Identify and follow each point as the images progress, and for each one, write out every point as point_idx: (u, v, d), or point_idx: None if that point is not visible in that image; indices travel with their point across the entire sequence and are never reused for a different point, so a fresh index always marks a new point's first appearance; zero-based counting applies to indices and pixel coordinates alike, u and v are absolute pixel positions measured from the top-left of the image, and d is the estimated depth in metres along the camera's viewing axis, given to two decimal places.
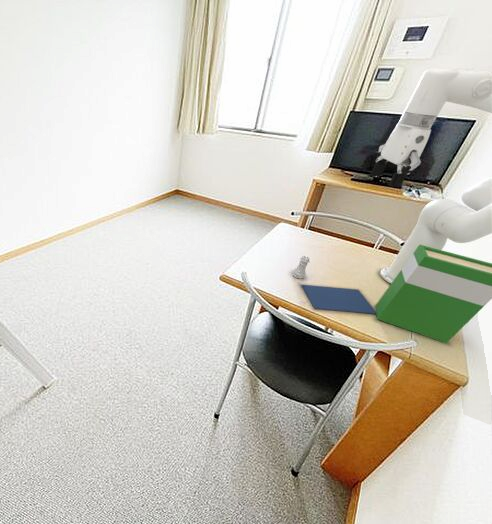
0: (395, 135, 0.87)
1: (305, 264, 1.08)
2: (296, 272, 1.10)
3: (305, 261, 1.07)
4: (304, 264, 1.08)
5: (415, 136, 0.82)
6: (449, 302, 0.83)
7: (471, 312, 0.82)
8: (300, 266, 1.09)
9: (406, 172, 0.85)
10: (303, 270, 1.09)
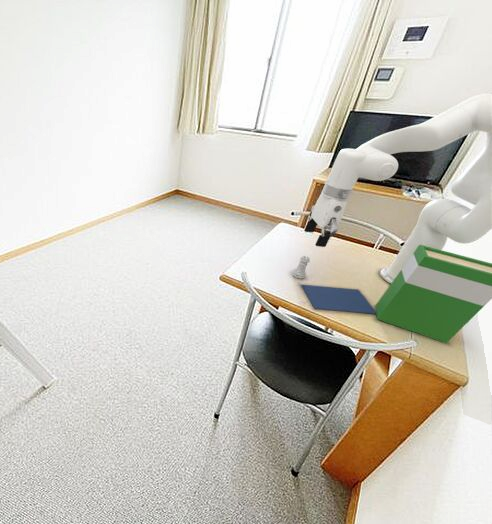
0: (320, 201, 0.97)
1: (305, 264, 1.08)
2: (296, 272, 1.10)
3: (305, 261, 1.07)
4: (304, 264, 1.08)
5: (333, 206, 0.92)
6: (449, 302, 0.83)
7: (471, 312, 0.82)
8: (300, 266, 1.09)
9: (328, 236, 0.95)
10: (303, 270, 1.09)
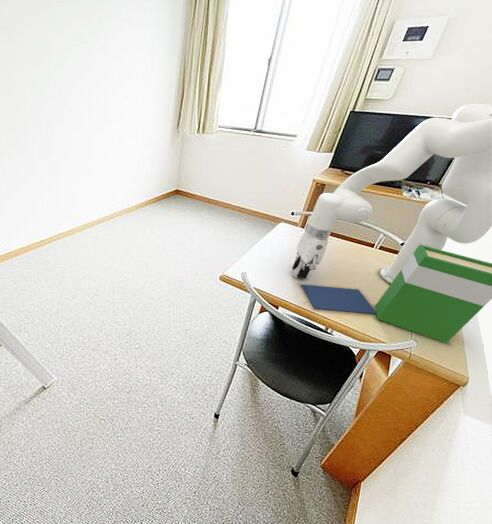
0: (304, 238, 1.05)
1: None
2: (296, 272, 1.10)
3: None
4: None
5: (315, 245, 1.00)
6: (449, 302, 0.83)
7: (471, 312, 0.82)
8: (300, 266, 1.09)
9: (307, 269, 1.06)
10: None
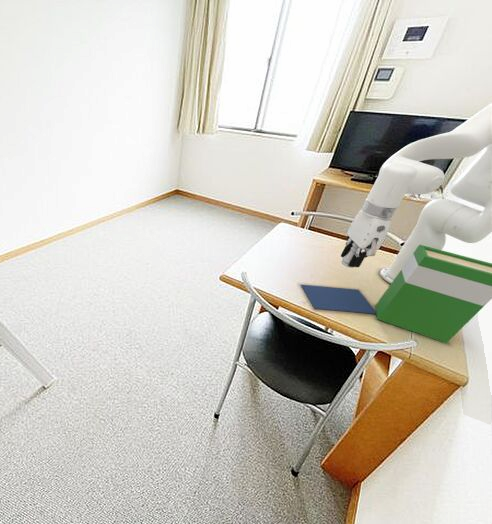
0: (359, 219, 0.89)
1: None
2: (347, 260, 0.94)
3: None
4: None
5: (376, 226, 0.83)
6: (449, 302, 0.83)
7: (471, 312, 0.82)
8: (352, 252, 0.93)
9: (363, 256, 0.90)
10: None
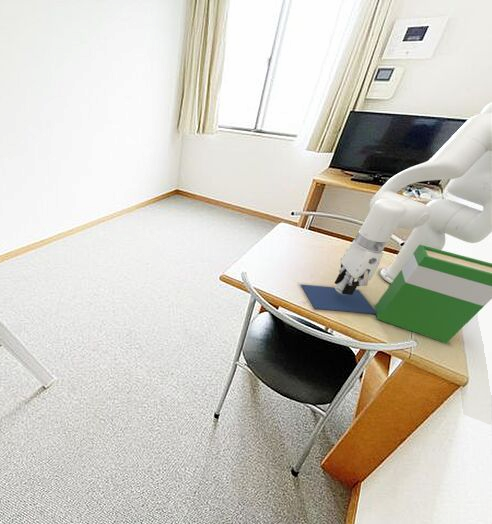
0: (352, 250, 0.93)
1: None
2: (340, 287, 0.98)
3: None
4: None
5: (368, 258, 0.87)
6: (449, 302, 0.83)
7: (471, 312, 0.82)
8: (345, 280, 0.97)
9: (356, 285, 0.93)
10: None
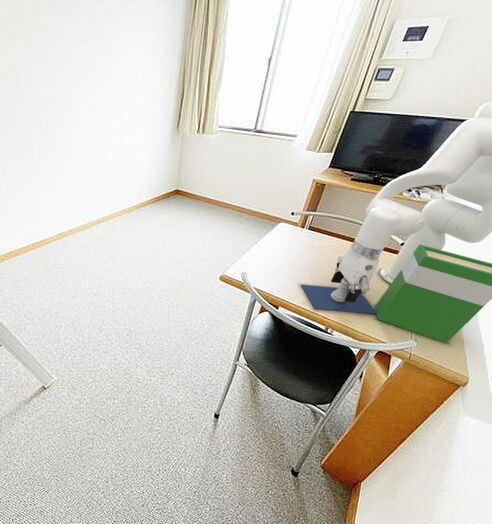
0: (349, 257, 0.94)
1: (347, 287, 0.98)
2: (336, 295, 1.00)
3: (347, 284, 0.97)
4: (346, 287, 0.98)
5: (364, 265, 0.89)
6: (449, 302, 0.83)
7: (471, 312, 0.82)
8: (341, 288, 0.99)
9: (358, 293, 0.92)
10: (344, 293, 0.99)
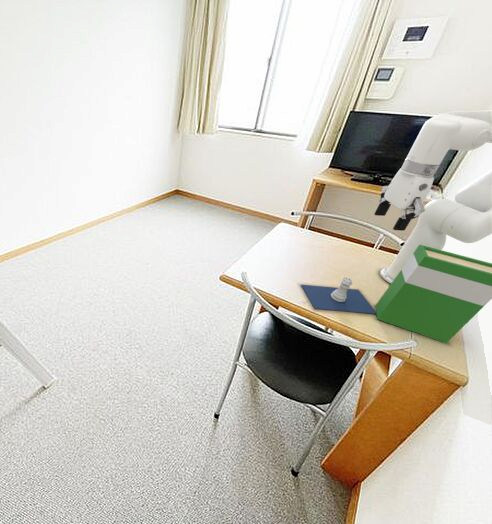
0: (398, 180, 0.88)
1: (347, 287, 0.98)
2: (336, 295, 1.00)
3: (347, 284, 0.97)
4: (346, 287, 0.98)
5: (418, 184, 0.82)
6: (449, 302, 0.83)
7: (471, 312, 0.82)
8: (341, 288, 0.99)
9: (410, 218, 0.86)
10: (344, 293, 0.99)
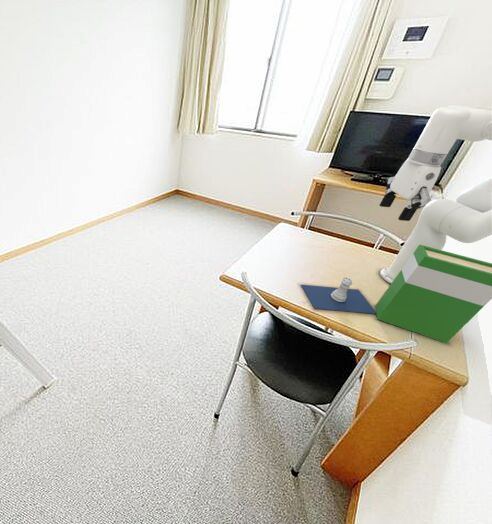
0: (405, 170, 0.88)
1: (347, 287, 0.98)
2: (336, 295, 1.00)
3: (347, 284, 0.97)
4: (346, 287, 0.98)
5: (425, 173, 0.82)
6: (449, 302, 0.83)
7: (471, 312, 0.82)
8: (341, 288, 0.99)
9: (416, 207, 0.86)
10: (344, 293, 0.99)
